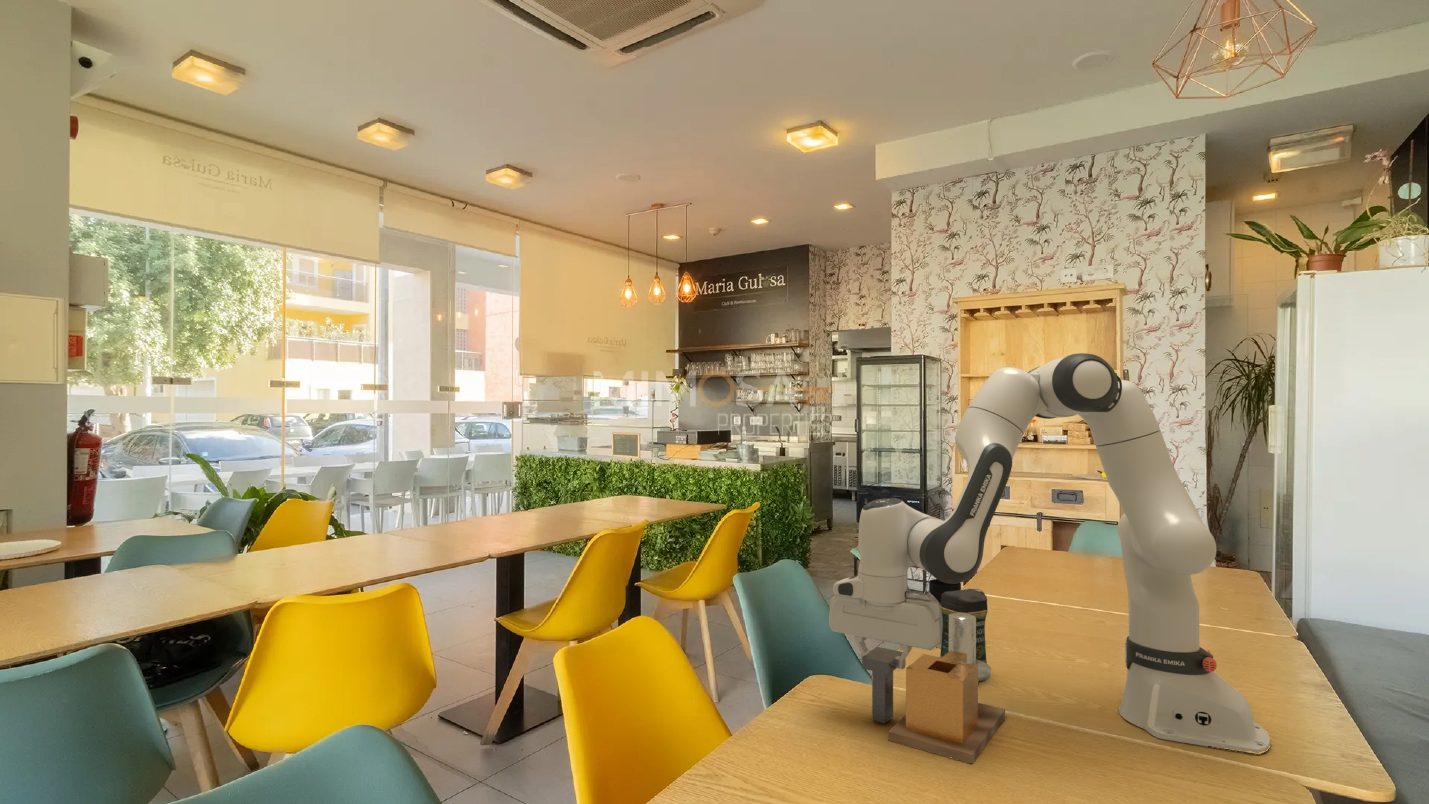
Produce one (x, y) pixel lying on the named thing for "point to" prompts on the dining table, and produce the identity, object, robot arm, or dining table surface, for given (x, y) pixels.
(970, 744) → the walnut base board
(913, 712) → the wooden slotted box
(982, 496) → the robot arm
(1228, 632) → the dining table surface
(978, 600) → the coffee jar
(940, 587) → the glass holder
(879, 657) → the grey t-shaped block
